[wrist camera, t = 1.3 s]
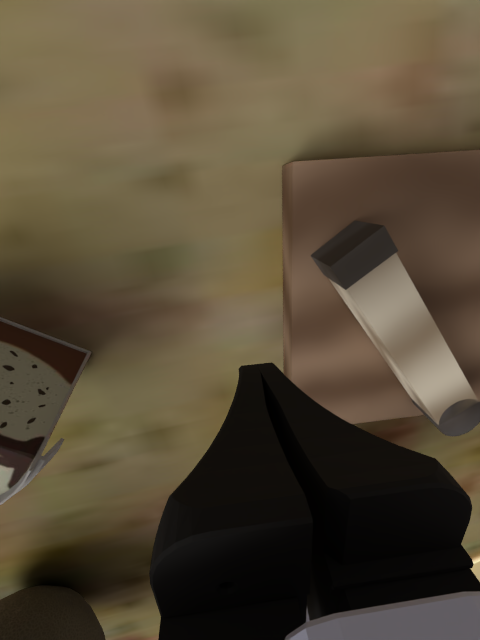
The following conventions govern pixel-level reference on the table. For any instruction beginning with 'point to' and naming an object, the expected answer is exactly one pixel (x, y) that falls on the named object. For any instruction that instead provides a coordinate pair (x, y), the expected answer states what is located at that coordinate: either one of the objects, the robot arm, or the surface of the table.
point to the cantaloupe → (48, 615)
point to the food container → (32, 399)
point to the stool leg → (399, 324)
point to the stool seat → (414, 253)
